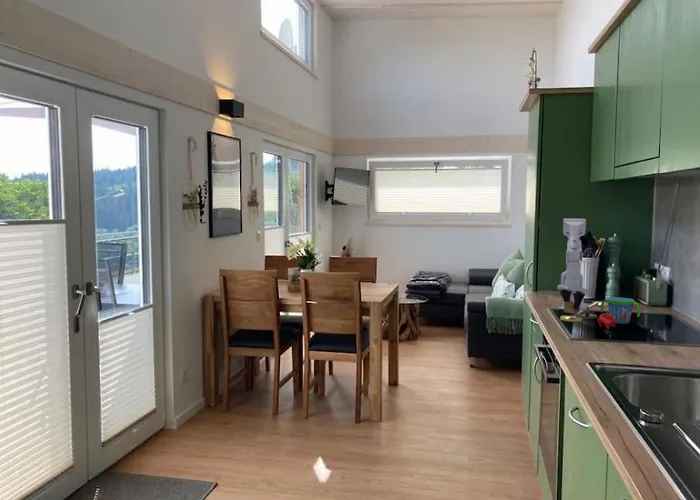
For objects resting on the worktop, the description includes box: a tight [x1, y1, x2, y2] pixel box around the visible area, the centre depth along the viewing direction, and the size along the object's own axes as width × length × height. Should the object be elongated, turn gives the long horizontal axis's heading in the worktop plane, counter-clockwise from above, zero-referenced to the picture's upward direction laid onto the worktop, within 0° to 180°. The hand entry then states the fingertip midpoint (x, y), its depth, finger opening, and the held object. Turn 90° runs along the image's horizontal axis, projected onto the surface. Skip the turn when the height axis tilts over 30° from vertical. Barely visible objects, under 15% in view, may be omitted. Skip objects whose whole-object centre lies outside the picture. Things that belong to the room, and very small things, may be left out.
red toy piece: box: [596, 312, 616, 330], centre depth 229 cm, size 8×6×6 cm
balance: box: [559, 301, 608, 323], centre depth 248 cm, size 30×9×7 cm, turn 120°
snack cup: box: [600, 296, 641, 325], centre depth 239 cm, size 16×10×10 cm
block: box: [563, 301, 580, 314], centre depth 243 cm, size 4×4×4 cm
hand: (571, 308), depth 243 cm, fingers closed on block, 4 cm apart
